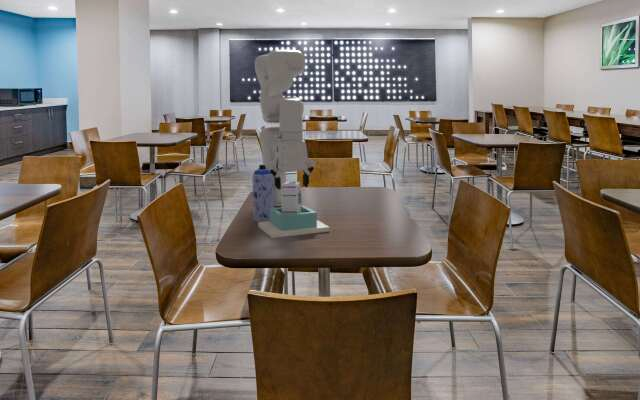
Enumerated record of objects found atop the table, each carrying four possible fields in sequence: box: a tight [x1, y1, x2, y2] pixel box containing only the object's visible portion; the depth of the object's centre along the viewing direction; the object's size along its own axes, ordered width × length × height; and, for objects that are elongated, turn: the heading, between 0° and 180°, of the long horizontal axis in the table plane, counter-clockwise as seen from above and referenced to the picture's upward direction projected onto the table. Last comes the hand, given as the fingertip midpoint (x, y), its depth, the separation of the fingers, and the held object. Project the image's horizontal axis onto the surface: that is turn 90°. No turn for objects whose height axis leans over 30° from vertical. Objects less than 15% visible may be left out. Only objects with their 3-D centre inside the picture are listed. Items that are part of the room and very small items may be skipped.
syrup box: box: [281, 180, 302, 215], centre depth 182 cm, size 6×6×14 cm
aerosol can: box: [251, 164, 275, 222], centre depth 196 cm, size 8×8×20 cm
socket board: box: [257, 204, 330, 239], centre depth 183 cm, size 16×20×6 cm
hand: (292, 187), depth 181 cm, fingers open, 9 cm apart
